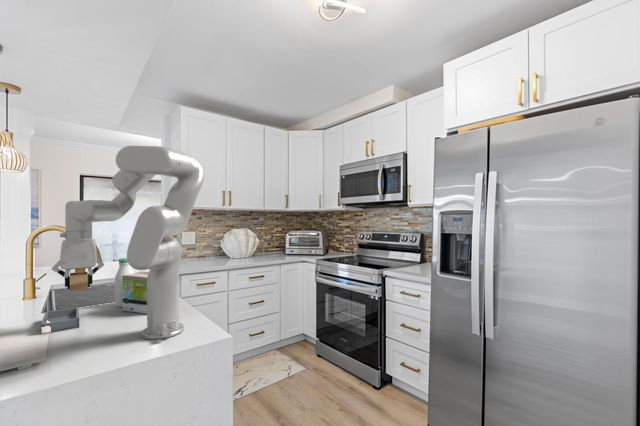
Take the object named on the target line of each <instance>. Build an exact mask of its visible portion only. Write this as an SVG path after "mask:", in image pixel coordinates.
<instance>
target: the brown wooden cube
mask: <svg viewBox="0 0 640 426" xmlns="http://www.w3.org/2000/svg"><path fill="white" fill-rule="evenodd" d="M88 273H89V272H88V270H87V271H85V272H84V273H83V274H77V273H76V272H70V273H69V277H70V289H69V291H70V292H71V291H80V290H88V289H89V287H88Z"/></svg>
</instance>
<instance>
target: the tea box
mask: <svg viewBox="0 0 640 426" xmlns="http://www.w3.org/2000/svg"><path fill="white" fill-rule="evenodd" d="M148 273H149V271H144V270H141V271H137V272H134V273H133V274H129V275H125V276H122V278H123V279H122V283H123V307H122V311H123V312H132V313H139V314H145V315H147V277H148Z"/></svg>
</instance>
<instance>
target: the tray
mask: <svg viewBox="0 0 640 426" xmlns="http://www.w3.org/2000/svg"><path fill="white" fill-rule="evenodd" d="M43 314H44V315H43V318H42V319H41V323H40V328H41V327H45V326H50V327H51V333H57V332H62V331H66V330H67V331H68V330H74V329H78V328H80V307H79V306H77V307H71V308H63V309H58V310H57V309H56V310H50V311H45V312H44V313H43ZM47 320H48V321H50V323H46V321H47ZM51 333H50V334H51Z"/></svg>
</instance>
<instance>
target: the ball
mask: <svg viewBox="0 0 640 426" xmlns="http://www.w3.org/2000/svg"><path fill="white" fill-rule="evenodd" d="M86 270H87V268H82V269H74V273H77V274H83V273H84V272H87V271H86Z"/></svg>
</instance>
